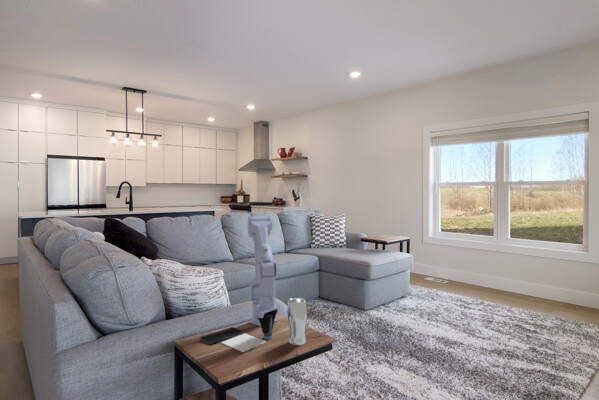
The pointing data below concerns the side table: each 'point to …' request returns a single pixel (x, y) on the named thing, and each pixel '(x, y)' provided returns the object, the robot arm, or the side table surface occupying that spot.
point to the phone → (221, 336)
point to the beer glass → (297, 320)
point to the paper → (243, 342)
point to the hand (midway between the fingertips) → (267, 331)
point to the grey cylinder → (269, 335)
